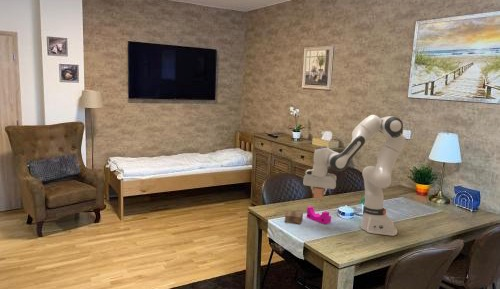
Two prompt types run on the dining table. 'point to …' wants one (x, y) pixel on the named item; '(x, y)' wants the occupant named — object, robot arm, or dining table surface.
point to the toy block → (318, 216)
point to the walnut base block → (293, 217)
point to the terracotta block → (318, 192)
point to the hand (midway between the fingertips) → (318, 193)
